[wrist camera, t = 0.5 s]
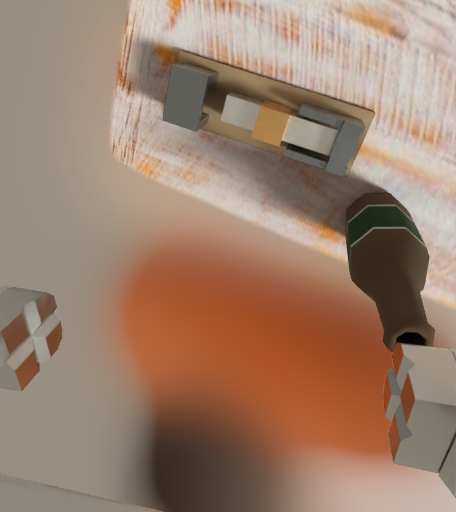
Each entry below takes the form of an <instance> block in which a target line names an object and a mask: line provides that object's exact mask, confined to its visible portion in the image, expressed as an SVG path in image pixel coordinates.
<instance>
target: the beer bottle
mask: <svg viewBox="0 0 456 512" xmlns="http://www.w3.org/2000/svg"><path fill="white" fill-rule="evenodd" d="M346 245H347V254H348V262H349V271H350V275H351V279H352V281H353V282H354V283H355V284H356V285H357V286H358V287H359V288H360V289H361V290H362V291H363V292H364V293H366V294H367V295H368V296H369V297H370V298H371V299H372V300H373V301H375V302H376V306H377V309H378V312H379V315H380V318H381V321H382V325H383V328H384V336H383V342H384V344H385V345H386V347H387V348H388V349H389V350H390V351H391V352H393V350H394V347H395V345H396V344H397V342H398V343H405V344H413V345H420V346H427V347H432V345H433V340H434V332H435V329H434V328H433V327H432V326H430V325H429V324H428V322H427V318H426V314H425V310H424V306H423V303H422V299H421V295H420V292H421V291H422V290H423V289H424V285H425V281H426V275H427V269H428V263H429V254H428V251H427V248H426V246H425V244H424V242H423V240H422V238H421V235H420V233H419V231H418V229H417V227H416V225H415V223H414V221H413V219H412V217H411V215H410V213H409V212H408V211H407V209H406V208H405V207H404V206H403V205H402V204H401V203H400V202H399V201H398V200H397V199H396V198H395V197H394V196H392V195H391V194H390V193H371V194H364V195H363V196H362V197H360V198H359V199H358V200H357V201H356V202H355V203H353V204H352V205H351V206H350V207H349V208H348V209H347V213H346Z"/></svg>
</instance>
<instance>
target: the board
mask: <svg viewBox="0 0 456 512" xmlns="http://www.w3.org/2000/svg"><path fill="white" fill-rule="evenodd" d="M183 62H188V63H191V64H194V65H197V66H200V67H203V68H206V69H210V70H213V71H216V72H219V76H218V80H217V82H215V83H213V84H211V85H208V87H207V92H206V97H205V101H204V106H203V110H202V113H205V114H208V115H209V119H208V123H207V124H206V125H205V126H203V127H202V128H201V129H202V130H205V131H209V132H212V133H215V134H218V135H221V136H224V137H227V138H230V139H233V140H236V141H239V142H242V143H245V144H248V145H251V146H254V147H257V148H260V149H263V150H267V151H270V152H273V153H276V154H279V155H282V156H284V154H285V151H286V148H287V145H288V142H285V141H281V144H280V146H279V147H278V146H275V145H272V144H269V143H266V142H263V141H260V140H257V139H254V138H251V136H252V133H253V131H251V130H248V129H245V128H242V127H239V126H236V125H233V124H230V123H227V122H224V121H221V117H222V113H223V109H224V105H225V101H226V97H227V95H228V94H229V93H231V92H234V93H237V94H240V95H244V96H247V97H250V98H253V99H256V100H259V101H262V102H264V101H265V100H268V101H271V102H274V103H278V104H281V105H284V106H287V107H290V108H293V109H292V111H293V112H296V113H299V111H300V108H301V105H302V102H307V103H310V104H313V105H316V106H319V107H322V108H325V109H328V110H332V111H335V112H338V113H341V114H344V115H347V116H350V117H353V118H357V119H360V120H363V122H364V125H365V127H366V128H365V130H364V133H363V135H360V137H359V139H358V142H357V144H356V146H355V149H354V151H353V153H352V155H351V158H350V160H349V162H348V165H347V171H346V173H345V176H346V177H347V176H348V174H349V172H350V169H351V167H352V165H353V163H354V160H355V158H356V156H357V154H358V152H359V149H360V147H361V145H362V143H363V140H364V138H365V136H366V134H367V131H368V129H369V127H370V125H371V122H372V120H373V118H374V116H375V112H374V111H371V110H367V109H364V108H361V107H358V106H355V105H352V104H348V103H345V102H342V101H339V100H336V99H333V98H330V97H326V96H323V95H320V94H317V93H314V92H311V91H308V90H304V89H301V88H298V87H295V86H292V85H289V84H286V83H282V82H279V81H276V80H273V79H270V78H267V77H264V76H260V75H257V74H254V73H251V72H248V71H245V70H242V69H238V68H235V67H232V66H229V65H226V64H223V63H220V62H216V61H213V60H210V59H207V58H204V57H201V56H198V55H194V54H191V53H188V52H185V51H179V56H178V61H177V63H183ZM288 158H289V157H288ZM291 159H292V158H291ZM294 160H295V159H294ZM297 161H298V160H297ZM300 162H301V161H300ZM303 163H304V162H303ZM306 164H307V163H306ZM309 165H310V164H309ZM312 166H313V165H312ZM315 167H316V166H315ZM318 168H319V167H318ZM321 169H322V168H321Z"/></svg>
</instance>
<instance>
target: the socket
mask: <svg viewBox="0 0 456 512" xmlns="http://www.w3.org/2000/svg"><path fill="white" fill-rule="evenodd" d="M218 76H219V72H216V71H213V70H210V69H206V68H203V67H200V66H197V65H194V64H191V63H188V62H183V63H177V64H172V67H171V73H170V79H169V85H168V91H167V97H166V102H165V108H164V114H163V121H166V122H169V123H172V124H175V125H178V126H181V127H184V128H187V129H190V130H193V131H198V130H199V129H201V128H202V127H203V126H205V125H206V124H207V123H208V119H209V115H208V114H205V113H202V110H203V106H204V101H205V97H206V92H207V87H208V85H211V84H213V83H215V82H217V80H218Z"/></svg>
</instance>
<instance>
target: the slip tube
mask: <svg viewBox="0 0 456 512" xmlns="http://www.w3.org/2000/svg"><path fill="white" fill-rule="evenodd" d="M292 109H293V108H290V107H287V106H284V105H281V104H278V103H274V102H271V101H268V100H265V101H264V102H262V101H259V100H256V99H253V98H250V97H247V96H244V95H240V94H237V93H234V92H231V93H229V94H228V95H227V97H226V101H225V105H224V109H223V113H222V117H221V121H224V122H227V123H230V124H233V125H236V126H239V127H242V128H245V129H248V130H251V131H253V133H252V136H251V138H254V139H257V140H260V141H263V142H266V143H269V144H272V145H275V146H278V147H279V146H280V144H281V141H285V142H288V143H291V144H294V145H297V146H300V147H304V148H307V149H310V150H313V151H316V152H319V153H322V154H325V155H328V156H330V154H331V152H332V150H333V147H334V145H335V142H336V140H337V137H338V135H339V132H340V130H341V128H339V127H336V126H333V125H330V124H327V123H324V122H321V121H318V120H314V119H311V118H308V117H305V116H302V115H299V113H296V112H293V111H292Z"/></svg>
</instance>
